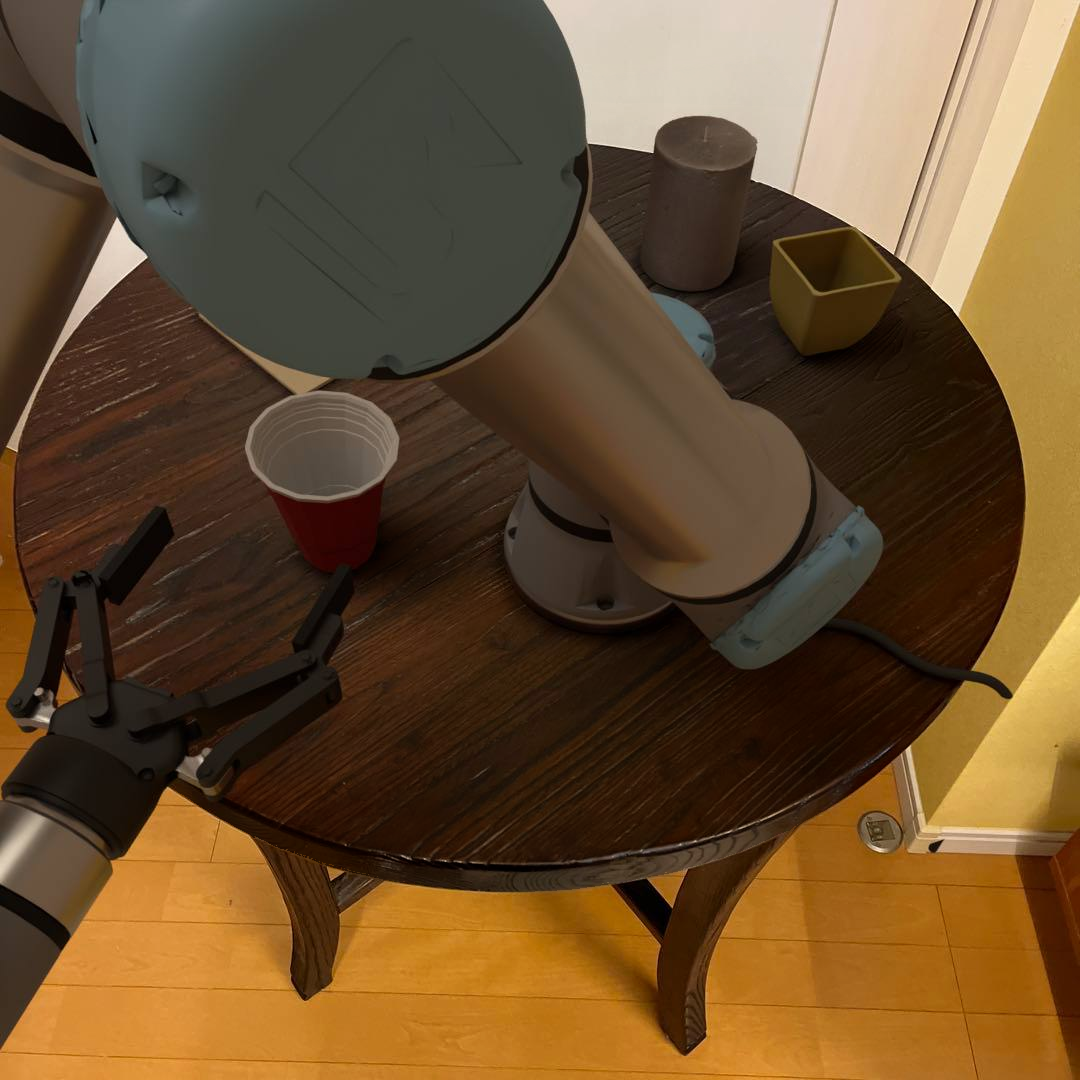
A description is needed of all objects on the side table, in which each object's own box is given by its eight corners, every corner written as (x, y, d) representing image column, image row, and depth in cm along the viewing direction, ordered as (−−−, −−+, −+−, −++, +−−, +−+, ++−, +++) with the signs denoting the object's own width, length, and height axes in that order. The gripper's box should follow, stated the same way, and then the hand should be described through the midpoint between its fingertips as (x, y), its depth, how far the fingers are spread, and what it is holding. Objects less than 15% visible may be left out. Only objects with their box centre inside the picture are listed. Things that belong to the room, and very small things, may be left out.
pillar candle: (627, 243, 112) (641, 107, 100) (714, 231, 114) (737, 96, 102) (658, 299, 106) (676, 162, 95) (749, 285, 108) (777, 149, 96)
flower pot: (833, 301, 107) (855, 223, 100) (877, 356, 101) (904, 278, 94) (753, 317, 105) (771, 239, 98) (794, 374, 99) (815, 296, 92)
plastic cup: (387, 612, 81) (372, 507, 72) (252, 587, 82) (220, 481, 73) (426, 507, 88) (416, 399, 78) (300, 486, 89) (277, 377, 80)
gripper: (-103, 788, 63) (108, 532, 76) (274, 936, 58) (430, 636, 71) (-164, 722, 57) (76, 458, 70) (250, 881, 52) (425, 566, 65)
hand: (255, 547), depth 71 cm, fingers open, 13 cm apart
